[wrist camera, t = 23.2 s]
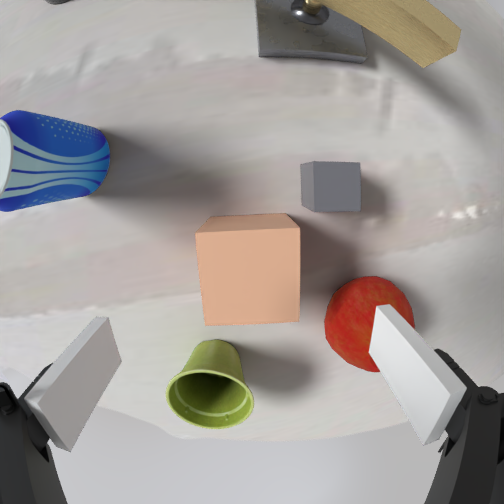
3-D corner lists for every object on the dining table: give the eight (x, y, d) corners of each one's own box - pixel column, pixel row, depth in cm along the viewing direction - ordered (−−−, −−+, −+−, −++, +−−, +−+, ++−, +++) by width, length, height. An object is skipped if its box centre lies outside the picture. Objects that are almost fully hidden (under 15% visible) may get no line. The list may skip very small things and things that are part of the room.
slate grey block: (300, 164, 29) (312, 161, 23) (339, 164, 29) (360, 162, 23) (301, 205, 30) (314, 212, 24) (340, 204, 30) (360, 211, 24)
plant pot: (199, 314, 33) (185, 355, 25) (266, 347, 34) (271, 393, 26) (170, 364, 35) (154, 407, 27) (231, 392, 36) (228, 438, 28)
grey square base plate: (253, -15, 22) (253, -25, 20) (346, -8, 22) (350, -16, 20) (258, 56, 25) (259, 48, 23) (361, 63, 25) (368, 57, 23)
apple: (394, 327, 34) (431, 371, 24) (324, 352, 35) (346, 406, 25) (388, 259, 32) (436, 291, 21) (310, 283, 32) (335, 328, 22)
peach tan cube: (210, 216, 30) (194, 232, 21) (285, 213, 30) (299, 227, 21) (216, 286, 32) (205, 325, 23) (286, 283, 32) (299, 321, 23)
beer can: (125, 136, 28) (32, 113, 12) (102, 205, 29) (6, 232, 14) (73, 121, 27) (-20, 102, 11) (54, 184, 29) (-40, 199, 13)
